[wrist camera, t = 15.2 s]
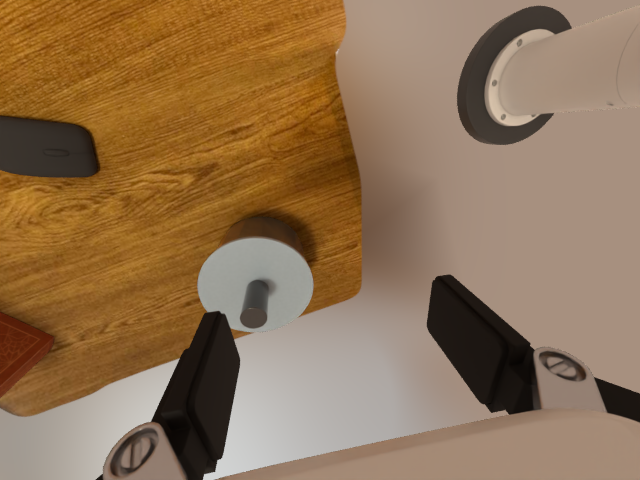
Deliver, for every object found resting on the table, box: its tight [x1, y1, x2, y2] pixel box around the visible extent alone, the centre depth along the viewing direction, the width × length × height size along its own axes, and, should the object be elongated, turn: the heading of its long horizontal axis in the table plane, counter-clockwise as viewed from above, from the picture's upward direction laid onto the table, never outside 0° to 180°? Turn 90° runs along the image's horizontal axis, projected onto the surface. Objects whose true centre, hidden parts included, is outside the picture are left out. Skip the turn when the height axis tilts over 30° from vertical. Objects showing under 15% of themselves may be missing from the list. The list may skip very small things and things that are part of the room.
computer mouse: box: [0, 116, 97, 177], centre depth 29 cm, size 6×11×4 cm, turn 83°
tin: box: [217, 216, 305, 259], centre depth 37 cm, size 14×14×10 cm
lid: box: [197, 236, 313, 332], centre depth 30 cm, size 15×15×7 cm
